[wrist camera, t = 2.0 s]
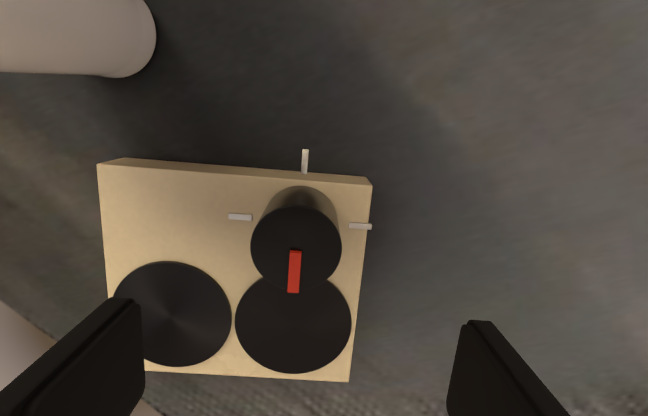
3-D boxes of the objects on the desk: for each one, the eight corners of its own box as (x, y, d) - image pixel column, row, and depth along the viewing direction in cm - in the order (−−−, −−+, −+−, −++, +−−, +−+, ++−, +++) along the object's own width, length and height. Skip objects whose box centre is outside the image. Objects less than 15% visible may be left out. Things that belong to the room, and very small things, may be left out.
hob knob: (265, 182, 20) (249, 203, 16) (340, 188, 20) (347, 210, 16) (262, 252, 21) (247, 290, 17) (333, 257, 22) (338, 297, 17)
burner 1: (108, 256, 21) (105, 258, 21) (233, 264, 22) (232, 267, 21) (117, 360, 23) (115, 364, 23) (231, 367, 24) (230, 370, 23)
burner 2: (236, 265, 22) (235, 267, 21) (357, 273, 22) (358, 275, 22) (234, 367, 24) (233, 370, 23) (345, 374, 24) (345, 377, 24)
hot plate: (121, 129, 22) (91, 131, 19) (372, 149, 23) (380, 155, 20) (136, 341, 26) (112, 371, 23) (348, 354, 27) (351, 384, 24)
